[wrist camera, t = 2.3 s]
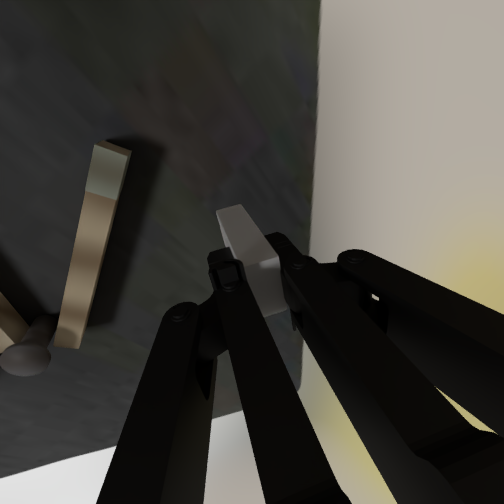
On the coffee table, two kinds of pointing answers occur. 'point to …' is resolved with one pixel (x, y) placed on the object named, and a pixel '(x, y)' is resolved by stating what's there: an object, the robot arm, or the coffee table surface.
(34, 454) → the coffee table surface
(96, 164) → the tongs jaw
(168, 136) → the coffee table surface
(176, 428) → the robot arm
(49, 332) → the tongs fixed
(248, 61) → the coffee table surface
